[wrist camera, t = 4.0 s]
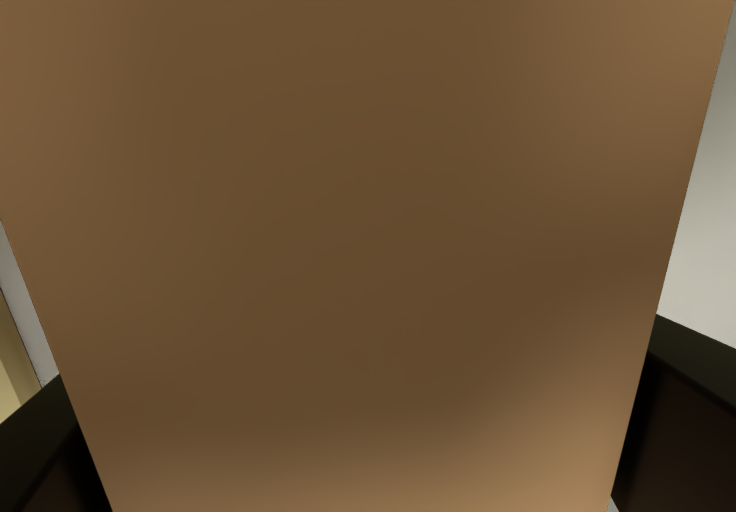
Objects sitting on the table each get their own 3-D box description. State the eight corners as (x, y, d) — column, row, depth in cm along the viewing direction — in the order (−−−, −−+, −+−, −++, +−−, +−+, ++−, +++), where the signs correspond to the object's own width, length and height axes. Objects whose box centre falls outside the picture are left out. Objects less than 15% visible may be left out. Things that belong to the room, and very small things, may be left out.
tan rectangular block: (484, 516, 14) (556, 710, 11) (227, 558, 13) (215, 779, 10) (557, -244, 7) (831, -391, 4) (26, -237, 6) (-244, -410, 3)
